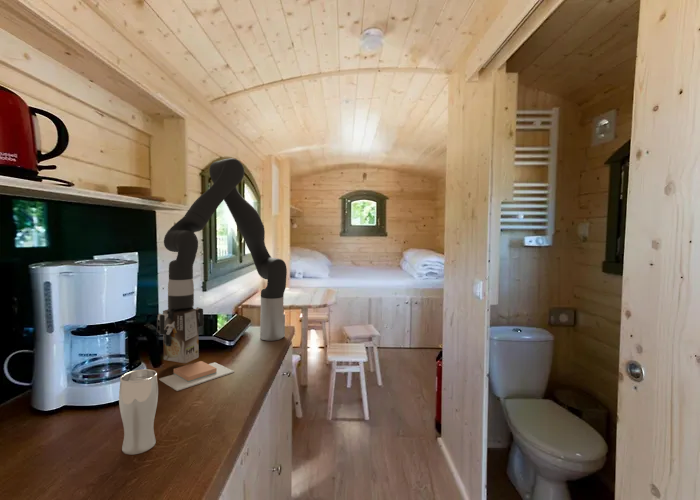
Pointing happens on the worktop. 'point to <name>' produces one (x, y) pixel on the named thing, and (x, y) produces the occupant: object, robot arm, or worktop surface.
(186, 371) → the tile
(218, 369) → the mat
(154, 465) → the worktop surface
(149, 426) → the beer glass
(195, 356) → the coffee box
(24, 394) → the worktop surface
